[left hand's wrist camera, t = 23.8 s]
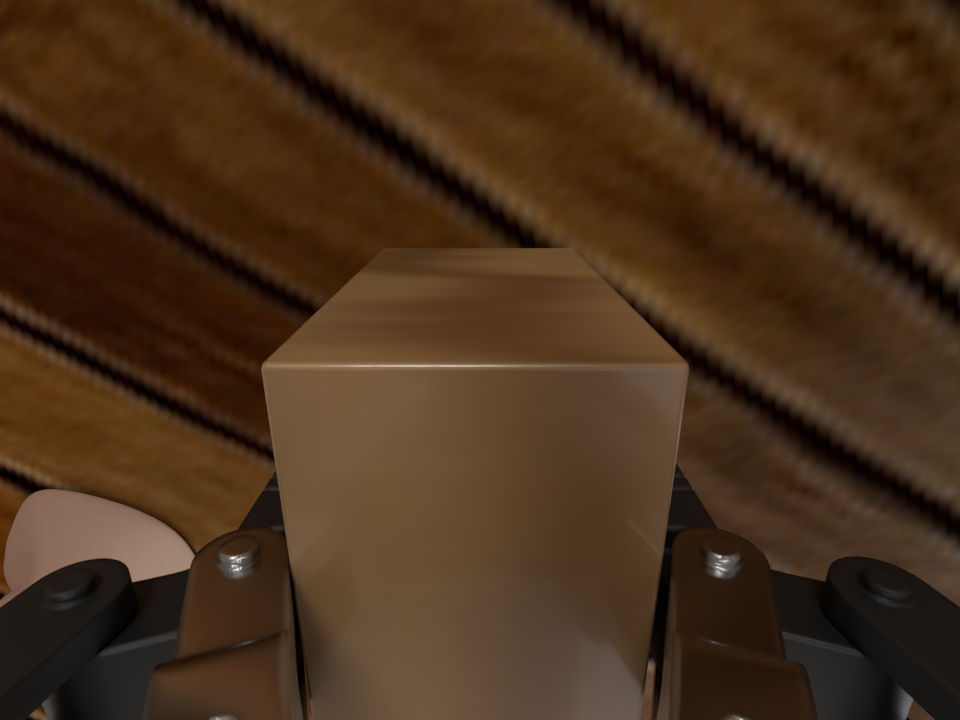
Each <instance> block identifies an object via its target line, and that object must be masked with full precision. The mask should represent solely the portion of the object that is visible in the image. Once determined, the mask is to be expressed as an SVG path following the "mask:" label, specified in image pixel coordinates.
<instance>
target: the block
mask: <svg viewBox="0 0 960 720" xmlns="http://www.w3.org/2000/svg"><path fill="white" fill-rule="evenodd" d="M261 370H262V377H263V383H264V390H265V397H266V404H267V411H268V418H269V424H270V431H271V438H272V445H273V452H274V458H275V465H276V472H277V479H278V486H279V492H280V499H281V506H282V513H283V520H284V526H285V533H286V540H287V547H288V554H289V560H290V567H291V574H292V581H293V588H294V594H295V601H296V608H297V615H298V622H299V628H300V635H301V642H302V649H303V656H304V662H305V669H306V676H307V683H308V690H309V696H310V703H311V710H312V717H313V720H640V717H641V710H642V703H643V695H644V688H645V681H646V674H647V667H648V660H649V652H650V645H651V638H652V631H653V624H654V617H655V610H656V602H657V595H658V588H659V581H660V574H661V567H662V559H663V552H664V545H665V538H666V531H667V524H668V517H669V509H670V502H671V495H672V488H673V481H674V474H675V466H676V459H677V452H678V445H679V438H680V431H681V424H682V416H683V409H684V402H685V395H686V388H687V381H688V373H689V366H688V363H687V362H686V361H685V360H684V359H683V358H682V357H681V356H680V355H679V354H678V353H677V352H676V351H675V350H674V349H673V348H672V347H671V346H670V345H669V344H668V343H667V342H666V341H665V340H664V339H663V338H662V337H661V336H660V335H659V334H658V333H657V332H656V331H655V330H654V329H653V328H652V327H651V326H650V325H649V324H648V323H647V322H646V321H645V320H644V319H643V318H642V317H641V316H640V315H639V314H638V313H637V312H636V311H635V310H634V309H633V308H632V307H631V306H630V305H629V304H628V303H627V302H626V301H625V300H624V299H623V298H622V297H621V296H620V295H619V294H618V293H617V292H616V291H615V290H614V289H613V288H612V287H611V286H610V285H609V284H608V283H607V282H606V281H605V280H604V279H603V278H602V277H601V276H600V275H599V274H598V273H597V272H596V271H595V270H594V269H593V268H592V267H591V266H590V265H589V264H588V263H587V262H586V261H585V260H584V259H583V258H582V257H581V256H580V255H579V254H578V253H577V252H576V251H575V250H574V249H572V248H385V249H382V250H381V251H380V252H379V253H378V254H377V255H376V256H375V257H374V258H373V259H372V260H371V261H370V262H369V263H368V264H367V265H365V266H364V267H363V268H362V269H361V270H360V271H359V272H358V273H357V274H356V275H355V276H354V277H353V278H352V279H351V280H350V281H349V282H348V283H347V284H346V285H344V286H343V287H342V288H341V289H340V290H339V291H338V292H337V293H336V294H335V295H334V296H333V297H332V298H331V299H330V300H329V301H328V302H327V303H326V304H324V305H323V306H322V307H321V308H320V309H319V310H318V311H317V312H316V313H315V314H314V315H313V316H312V317H311V318H310V319H309V320H308V321H307V322H306V323H305V324H303V325H302V326H301V327H300V328H299V329H298V330H297V331H296V332H295V333H294V334H293V335H292V336H291V337H290V338H289V339H288V340H287V341H286V342H285V343H284V344H282V345H281V346H280V347H279V348H278V349H277V350H276V351H275V352H274V353H273V354H272V355H271V356H270V357H269V358H268V359H267V360H266V361H265V362H264V363H263V365H262V368H261Z"/></svg>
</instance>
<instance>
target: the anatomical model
mask: <svg viewBox="0 0 960 720" xmlns="http://www.w3.org/2000/svg"><path fill="white" fill-rule="evenodd" d="M194 557H195V555H194V554H193V552H192V550H191V549H190V547H189V546H188V545H187V543H186V542H185V541H184V540H183V539H182V538H181V537H180V536H179V535H178V534H177V533H176V532H175V531H174V530H173V529H171V528H170V527H169V526H167V525H166V524H164V523H163V522H161V521H159V520H157V519H156V518H154V517H152V516H150V515H148V514H145V513H143V512H141V511H139V510H136V509H134V508H131V507H128V506H126V505H123V504H120V503H117V502H114V501H110V500H107V499H104V498H100V497H96V496H92V495H88V494H84V493H79V492H73V491H67V490H60V489H46V490H40V491H37V492H35V493H33V494H31V495H30V496H29V497H28V498H27V499H26V500H25V501H24V502H23V504H22V505H21V507H20V509H19V511H18V513H17V515H16V518H15V520H14V523H13V526H12V528H11V531H10V534H9V537H8V540H7V545H6V551H5V559H4V576H5V579H6V582H7V584H8V586H9V588H10V589H11V592H9V593H8V594H7V595H6V596H5V597H3V598H2V599H1V600H0V607H1V606H3V605H4V604H6V603H7V602H8V601H10V600H11V599H12V598H14V597H15V596H17V595H18V594H19V593H21V592H22V591H24V590H25V589H26V588H28V587H29V586H31V585H32V584H33V583H35V582H36V581H38V580H39V579H41V578H42V577H44V576H46V575H48V574H50V573H51V572H54V571H56V570H58V569H60V568H62V567H65V566H68V565H70V564H74V563H77V562H80V561H85V560H90V559H98V558H109V559H115V560H119V561H121V562H123V563H124V564H125V565H126V566H127V567H128V569H129V572H130V575H131V579H132V582H136V581H141V580H145V579H150V578H154V577H159V576H164V575H168V574H173V573H176V572H180V571H184V570H186V569H189V568H190V566H191V563H192V560H193V559H194Z"/></svg>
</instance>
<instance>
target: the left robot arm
mask: <svg viewBox="0 0 960 720" xmlns="http://www.w3.org/2000/svg"><path fill="white" fill-rule="evenodd" d="M650 649H651V652H652V655H653V658H654V661H655V669H654V676H653V689H652V703H651V717H650V720H910V719H909V718H908V717H907V715H908V713H909V710H910V707H911V705H912V702H913V699H914V700H915V701H916V702H917V703H918V704H919V705H920V706H921V707H922V708H923V709H924V710H925V711H927V712H928V713H929V714H930V715H931V716H932V717H933V718H934V719H935V720H960V607H959V606H957V605H956V604H954V603H953V602H952V601H950V600H949V599H948V598H946V597H945V596H943V595H942V594H941V593H939V592H938V591H936V590H935V589H934V588H932V587H931V586H929V585H928V584H927V583H925V582H924V581H922V580H921V579H919V578H918V577H916V576H915V575H913V574H911V573H909V572H908V571H906V570H904V569H901V568H899V567H897V566H895V565H892V564H889V563H886V562H883V561H880V560H876V559H871V558H866V557H844V558H840V559H837V560H836V561H834V562H833V563H832V564H831V565H830V567H829V569H828V573H827V577H826V580H825V582H824V581H819V580H815V579H810V578H805V577H801V576H796V575H792V574H787V573H783V572H779V571H775V570H772V569H770V566H769V563H768V560H767V558H766V557H765V555H764V554H763V553H762V552H761V551H760V550H759V549H758V548H757V547H756V546H755V545H754V544H752V543H751V542H749V541H748V540H746V539H744V538H742V537H741V536H738V535H736V534H734V533H731V532H728V531H725V530H721V529H718V528H717V526H716V525H715V523H714V522H713V520H712V519H711V517H710V515H709V514H708V512H707V511H706V509H705V508H704V506H703V504H702V503H701V501H700V500H699V498H698V497H697V495H696V493H695V492H694V491H692V487H691V486H690V484H689V482H688V481H687V479H686V478H684V475H683V473H682V471H681V470H680V468H679V467H678V465H677V464H676V466H675V474H674V481H673V488H672V495H671V502H670V509H669V517H668V524H667V531H666V538H665V545H664V552H663V559H662V567H661V574H660V581H659V588H658V595H657V602H656V610H655V617H654V624H653V631H652V638H651V645H650ZM41 704H42V705H43V708H44V711H45V713H46V716H47V719H48V720H310V717H309V703H308V689H307V676H306V669H305V662H304V656H303V649H302V642H301V635H300V628H299V622H298V615H297V608H296V601H295V594H294V588H293V581H292V574H291V567H290V560H289V554H288V547H287V540H286V533H285V526H284V520H283V513H282V506H281V499H280V492H279V486H278V479H277V472H276V471H275V473H274V475H273V479H270V481H269V482H268V484H267V485H266V487H265V491H263V492H262V493H261V495H260V496H259V498H258V499H257V501H256V502H255V504H254V505H253V507H252V509H251V510H250V512H249V513H248V515H247V516H246V518H245V519H244V521H243V522H242V524H241V526H240V527H239V529H238V530H235V531H232V532H229V533H226V534H224V535H222V536H220V537H218V538H216V539H214V540H212V541H211V542H209V543H208V544H206V545H205V546H204V547H203V548H202V549H201V550H200V551H199V552H198V553H197V554H196V555H195V557H194V559H193V560H192V563H191V566H190V568H189V569H186V570H184V571H180V572H176V573H173V574H168V575H164V576H159V577H154V578H150V579H145V580H141V581H136V582H132V579H131V575H130V572H129V569H128V567H127V566H126V565H125V564H124V563H123V562H121V561H119V560H115V559H109V558H98V559H90V560H85V561H80V562H77V563H74V564H70V565H68V566H65V567H62V568H60V569H58V570H56V571H54V572H51V573H50V574H48V575H46V576H44V577H42V578H41V579H39V580H38V581H36V582H35V583H33V584H32V585H31V586H29V587H28V588H26V589H25V590H24V591H22V592H21V593H19V594H18V595H17V596H15V597H14V598H12V599H11V600H10V601H8V602H7V603H6V604H4V605H3V606H1V607H0V720H25V719H26V718H27V717H28V716H29V715H30V714H31V713H32V712H33V711H34V710H36V709H37V708H38V707H39V706H40V705H41Z"/></svg>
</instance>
